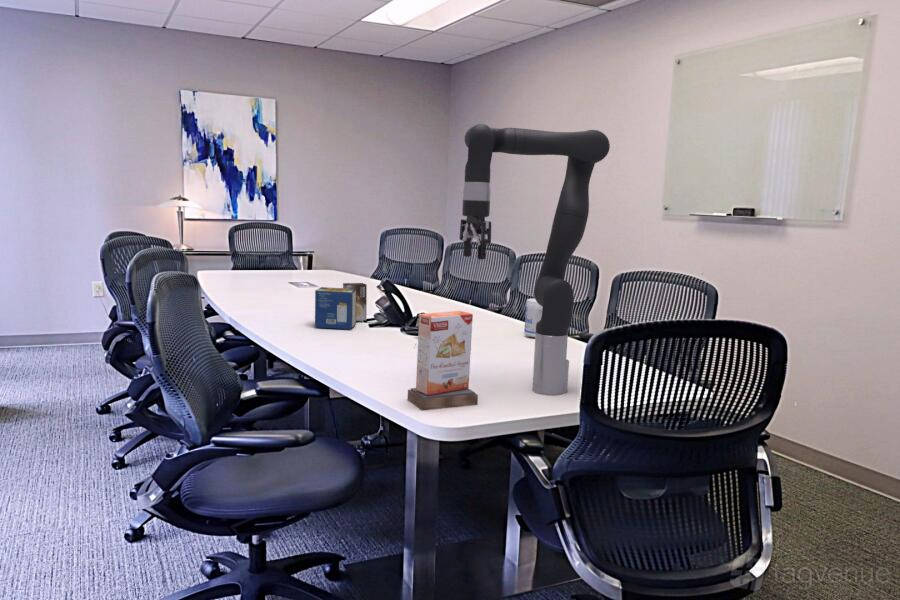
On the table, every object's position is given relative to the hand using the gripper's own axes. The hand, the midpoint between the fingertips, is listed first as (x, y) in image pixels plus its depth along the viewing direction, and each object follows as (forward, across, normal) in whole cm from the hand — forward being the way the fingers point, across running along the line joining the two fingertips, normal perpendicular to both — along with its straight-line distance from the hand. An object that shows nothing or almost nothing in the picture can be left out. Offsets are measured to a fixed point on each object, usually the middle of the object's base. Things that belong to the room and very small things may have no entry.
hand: (474, 257), depth 191 cm
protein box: (+38, +104, +9) cm, 111 cm away
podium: (+38, -9, +12) cm, 41 cm away
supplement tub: (+38, +64, -64) cm, 98 cm away
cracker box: (+35, -9, +12) cm, 38 cm away
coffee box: (+38, +116, -3) cm, 122 cm away
